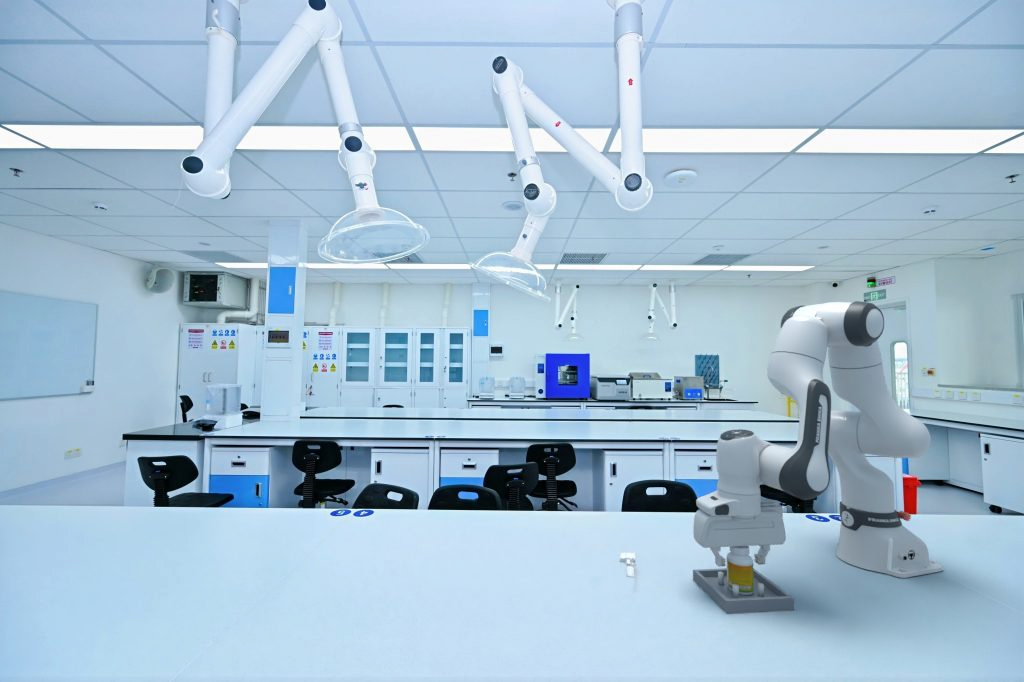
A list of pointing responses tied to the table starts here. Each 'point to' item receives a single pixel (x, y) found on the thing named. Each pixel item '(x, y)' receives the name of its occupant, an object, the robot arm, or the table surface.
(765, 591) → the pin tray
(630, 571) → the syringe
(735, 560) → the supplement bottle
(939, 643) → the table surface
